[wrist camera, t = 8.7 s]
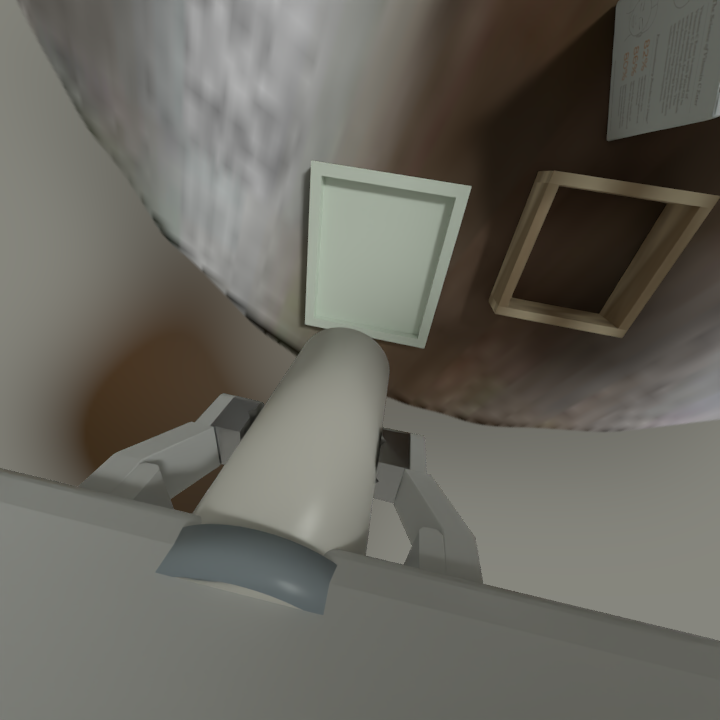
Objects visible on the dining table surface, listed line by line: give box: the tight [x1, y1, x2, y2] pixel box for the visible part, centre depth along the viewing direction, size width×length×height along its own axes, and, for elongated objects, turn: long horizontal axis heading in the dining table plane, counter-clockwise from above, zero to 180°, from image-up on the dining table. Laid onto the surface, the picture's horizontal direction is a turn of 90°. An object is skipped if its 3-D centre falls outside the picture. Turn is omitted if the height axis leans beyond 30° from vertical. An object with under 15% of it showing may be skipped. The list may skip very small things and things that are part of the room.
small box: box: [607, 0, 720, 141], centre depth 16 cm, size 8×6×10 cm
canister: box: [155, 327, 390, 615], centre depth 10 cm, size 5×5×10 cm
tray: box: [305, 161, 472, 348], centre depth 31 cm, size 14×16×2 cm
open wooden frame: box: [488, 171, 720, 338], centre depth 26 cm, size 12×12×4 cm
